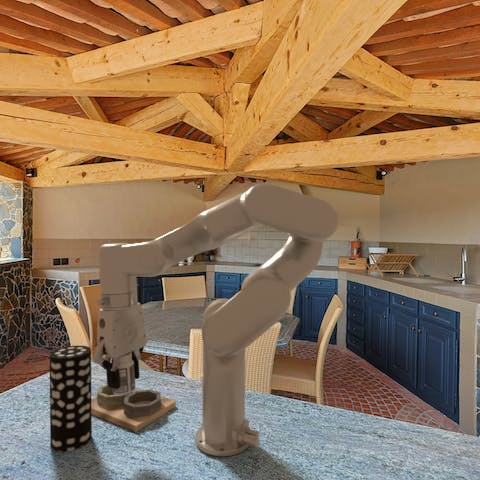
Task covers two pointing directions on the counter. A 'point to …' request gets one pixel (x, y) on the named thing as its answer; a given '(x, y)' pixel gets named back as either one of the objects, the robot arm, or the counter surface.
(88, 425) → the spotted tube
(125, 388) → the pill bottle
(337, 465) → the counter surface
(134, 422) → the socket board
